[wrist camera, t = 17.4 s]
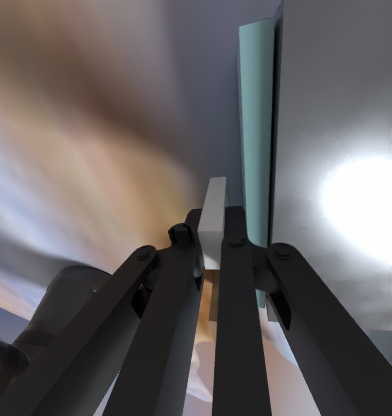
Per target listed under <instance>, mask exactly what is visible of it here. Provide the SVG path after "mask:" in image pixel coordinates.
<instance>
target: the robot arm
mask: <svg viewBox="0 0 392 416" xmlns="http://www.w3.org/2000/svg"><path fill="white" fill-rule="evenodd" d="M168 233H169V236H170V240H171V243H172V244H171V247H168V248H165V249H161V250H158V251H157V250H156V248H155V247H154V246H151V245H146V246H142V247H140V248H138V249H136V250H135V251H134V252H133V253H132V254H131V255H130V256H129V257H128V259H127V260H126V261H125V262H124V263H123V264H122V265H121V266H120V267H119V268H118V269H117V270H116V272H115V273H114V274H113V275H112V276H110V275H108V274H106V273H103V272H101V271H98V270H95V269H91V268H86V267H69V268H65V269H63V270H62V271H61V272H60V273H59V274H58V275H57V276H56V277H55V278H54V279H53V280H52V281H51V283H50V284H49V286H48V288H47V292H46V293H45V295H44V297H43V298H42V300H41V302H40V304H39V306H38V307H37V309H36V311H35V313H34V315H33V317H32V319H31V321H30V323H29V324H28V326H27V327H26V328H25V330H24V331H23V332H22V333H21V334H20V335H19V337H18V338H17V339H16V340H15V341H14V342H13V343H12V344H11V345H10V344H8V343H7V342H6V341H4V340H2V339H1V338H0V416H93V414H94V413H95V411H96V409H97V408H98V406H99V404H100V402H101V401H102V399H103V398H104V396H105V394H106V393H107V391H108V389H109V387H110V386H111V384H112V383H113V381H114V379H115V378H116V376H117V374H118V373H119V375H118V377H117V380H116V382H115V385H114V387H113V390H112V392H111V395H110V397H109V400H108V402H107V405H106V407H105V409H104V412H103V414H102V416H182V413H183V407H184V401H185V395H186V389H187V382H188V376H189V370H190V364H191V358H192V351H193V345H194V339H195V333H196V326H197V320H198V314H199V308H200V301H201V295H202V289H203V283H204V272H203V268H204V265H205V269H220V278H219V296H218V313H217V331H216V350H215V367H214V386H213V404H212V416H272V412H271V405H270V397H269V390H268V382H267V373H266V366H265V358H264V350H263V344H262V335H261V327H260V319H259V311H258V304H257V296H256V289H257V290H260V291H263V292H266V295H267V298H268V300H269V302H270V304H271V306H272V308H273V311H274V313H275V315H276V317H277V319H278V322H279V324H280V326H281V328H282V330H283V333H284V335H285V337H286V339H287V341H288V344H289V346H290V348H291V350H292V352H293V355H294V357H295V359H296V361H297V363H298V366H299V368H300V370H301V372H302V374H303V377H304V379H305V381H306V383H307V385H308V387H309V390H310V392H311V394H312V396H313V398H314V401H315V403H316V405H317V407H318V409H319V412H320V414H321V416H392V366H391V365H390V364H389V363H388V361H387V360H386V359H385V358H384V356H383V355H382V354H381V353H380V351H379V350H378V349H377V348H376V346H375V345H374V344H373V343H372V341H371V340H370V339H369V338H368V336H367V335H366V334H365V333H364V331H363V330H362V329H361V328H360V326H359V325H358V324H357V323H356V322H355V320H354V319H353V318H352V317H351V315H350V314H349V313H348V312H347V310H346V309H345V308H344V307H343V305H342V304H341V303H340V302H339V300H338V299H337V298H336V297H335V295H334V294H333V293H332V292H331V290H330V289H329V288H328V287H327V285H326V284H325V283H324V282H323V280H322V279H321V278H320V277H319V276H318V274H317V273H316V272H315V271H314V269H313V268H312V267H311V266H310V264H309V263H308V262H307V261H306V259H305V258H304V257H303V256H302V254H301V253H300V252H299V251H298V250H297V249H296V248H295V247H294V246H292V245H290V244H287V243H282V242H280V243H273V244H270V245H269V246H268V247H267V248H265V247H260V246H257V245H255V244H253V243H252V242H251V241H250V240H249V238H248V233H247V224H246V215H245V210H244V209H243V207H242V206H231V207H229V203H228V193H227V183H226V177H215V178H210V182H209V186H208V190H207V194H206V198H205V202H204V206H203V209H192V210H191V211H190V212H189V213H188V215H187V218H186V220H185V223H179V224H176V225H174V226H172V227H171V228H170V229H169V230H168ZM120 369H121V370H120ZM119 371H120V372H119Z"/></svg>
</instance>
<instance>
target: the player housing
mask: <svg viewBox="0 0 392 416" xmlns="http://www.w3.org/2000/svg"><path fill="white" fill-rule="evenodd" d="M274 17H275V22H274V53H273V76H275V98H274V124H273V150H272V176H271V202H270V229H269V245H270V244H273V243H280V242H282V243H287V244H290V245H292V246H294V247H295V248H296V249H297V250H298V251H299V252H300V253H301V254H302V256H303V257H304V258H305V259H306V261H307V262H308V263H309V264H310V266H311V267H312V268H313V269H314V271H315V272H316V273H317V274H318V276H319V277H320V278H321V279H322V280H323V282H324V283H325V284H326V285H327V287H328V288H329V289H330V290H331V292H332V293H333V294H334V295H335V297H336V298H337V299H338V300H339V302H340V303H341V304H342V305H343V307H344V308H345V309H346V310H347V312H348V313H349V314H350V315H351V317H352V318H353V319H354V320H355V322H356V323H357V324H358V325H359V326H360V328H361V329H370V330H383V331H392V0H282V2H281V4H280V6H279V8H278V9H277V11H276V13H275V15H274ZM265 302H266V309H267V316H268V321H272V322H278V319H277V317H276V315H275V313H274V311H273V308H272V306H271V304H270V302H269V300H268V298H267V295H266V300H265Z"/></svg>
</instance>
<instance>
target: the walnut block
mask: <svg viewBox="0 0 392 416" xmlns="http://www.w3.org/2000/svg"><path fill="white" fill-rule="evenodd" d="M219 278H220V269H214V277H213V286H212V296H211V305H210V314H209V324H210V328H211V332H212V336H213V340H214V343H216V331H217V313H218V296H219Z"/></svg>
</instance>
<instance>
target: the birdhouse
mask: <svg viewBox="0 0 392 416" xmlns="http://www.w3.org/2000/svg"><path fill="white" fill-rule="evenodd" d="M274 22H275V17H272V18H268V19H265V20H261V21H258V22H254V23H250V24H247V25H243V26H240V27H239V33H238V45H237V75H238V96H239V117H240V139H241V160H242V181H243V202H244V210H245V215H246V224H247V233H248V238H249V240H250V241H251V242H252V243H253V244H255V245H257V246H260V247H265V248H267V247H268V246H269V229H270V202H271V176H272V150H273V124H274V98H275V76H273V53H274ZM256 296H257V304H258V308H265V300H266V292H263V291H260V290H257V289H256Z"/></svg>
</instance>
